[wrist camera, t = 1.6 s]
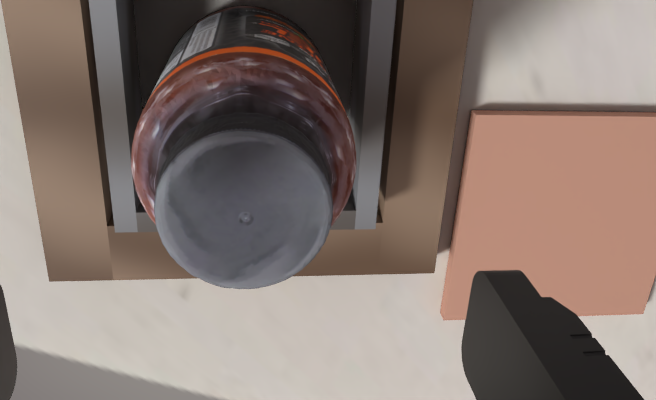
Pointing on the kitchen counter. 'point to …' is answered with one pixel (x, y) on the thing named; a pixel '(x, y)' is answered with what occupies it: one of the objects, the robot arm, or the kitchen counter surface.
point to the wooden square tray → (125, 110)
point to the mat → (558, 208)
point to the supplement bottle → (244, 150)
